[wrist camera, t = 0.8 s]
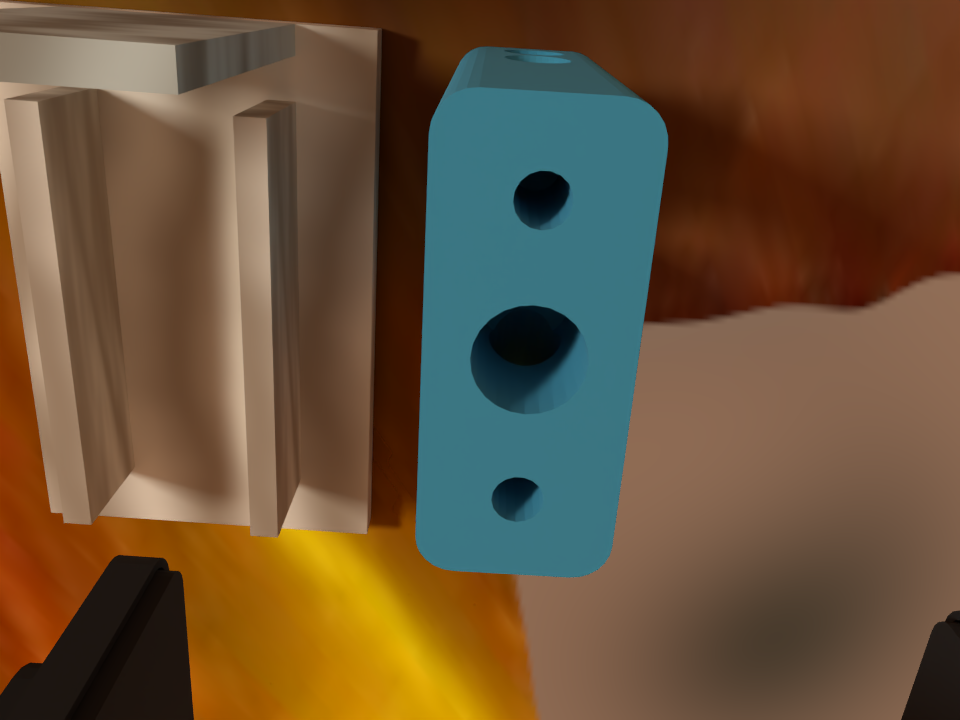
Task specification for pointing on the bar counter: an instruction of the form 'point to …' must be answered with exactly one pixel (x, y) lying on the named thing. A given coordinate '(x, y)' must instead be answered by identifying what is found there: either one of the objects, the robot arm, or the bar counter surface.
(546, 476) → the block
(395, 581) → the bar counter surface
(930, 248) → the bar counter surface
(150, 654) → the robot arm
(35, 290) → the book stand
